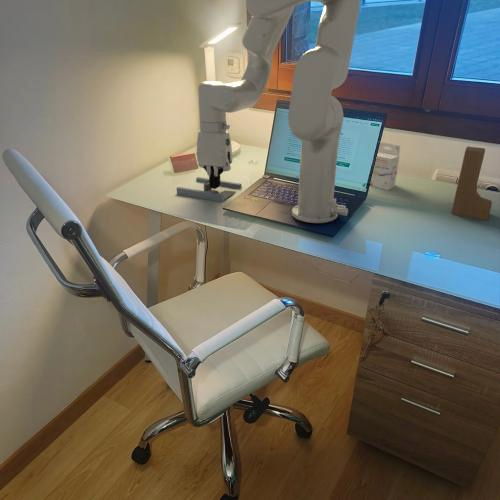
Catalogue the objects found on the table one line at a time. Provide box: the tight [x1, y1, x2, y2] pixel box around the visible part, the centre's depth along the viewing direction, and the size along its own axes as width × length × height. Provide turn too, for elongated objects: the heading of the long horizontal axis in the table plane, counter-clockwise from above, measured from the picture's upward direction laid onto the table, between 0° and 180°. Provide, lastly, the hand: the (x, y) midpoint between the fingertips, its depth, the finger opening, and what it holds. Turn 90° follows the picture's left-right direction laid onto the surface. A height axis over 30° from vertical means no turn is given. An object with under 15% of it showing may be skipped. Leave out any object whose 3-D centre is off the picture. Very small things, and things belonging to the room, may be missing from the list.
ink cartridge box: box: [369, 141, 401, 191], centre depth 135 cm, size 9×5×15 cm, turn 46°
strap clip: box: [203, 178, 220, 194], centre depth 137 cm, size 8×3×4 cm, turn 42°
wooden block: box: [450, 146, 493, 221], centre depth 116 cm, size 9×4×18 cm, turn 62°
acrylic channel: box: [176, 176, 242, 203], centre depth 137 cm, size 16×12×2 cm
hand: (215, 187), depth 136 cm, fingers closed
